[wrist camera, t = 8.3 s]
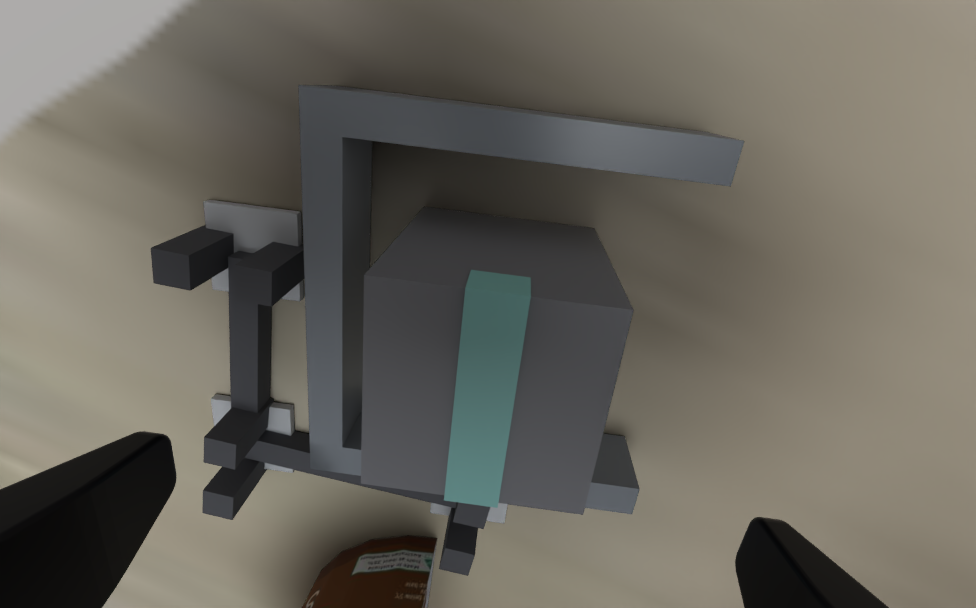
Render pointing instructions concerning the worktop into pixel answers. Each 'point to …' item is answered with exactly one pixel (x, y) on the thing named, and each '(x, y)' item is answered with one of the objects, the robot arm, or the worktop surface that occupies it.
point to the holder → (347, 213)
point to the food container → (377, 575)
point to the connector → (490, 360)
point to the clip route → (249, 410)
